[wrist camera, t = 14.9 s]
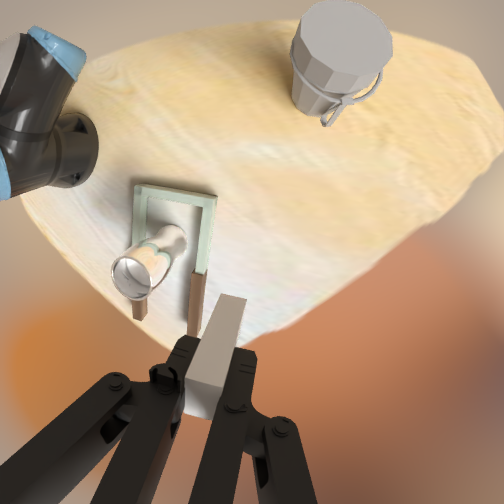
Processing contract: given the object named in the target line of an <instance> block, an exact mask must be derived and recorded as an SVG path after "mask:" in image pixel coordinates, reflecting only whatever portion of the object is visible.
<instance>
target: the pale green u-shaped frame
mask: <svg viewBox="0 0 504 504" xmlns="http://www.w3.org/2000/svg"><path fill="white" fill-rule="evenodd" d="M148 197H151V198H157V199H163V200H168V201H173V202H179V203H184V204H189V205H195V206H200V207H203V212H202V219H201V227H200V235H199V243H198V252H197V261H196V270H195V273H199V274H203V275H204V273H205V272H206V270H207V268H208V261H209V253H210V246H211V239H212V232H213V225H214V218H215V211H216V205H217V198H218V197H217V196H212V195H206V194H201V193H196V192H190V191H184V190H179V189H173V188H167V187H161V186H154V185H148V184H139V185H135V187H134V201H133V221H132V246H133V245H134V244H136V243H137V242H140V241H142V240H144V239H145V236H146V217H147V202H148Z"/></svg>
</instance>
